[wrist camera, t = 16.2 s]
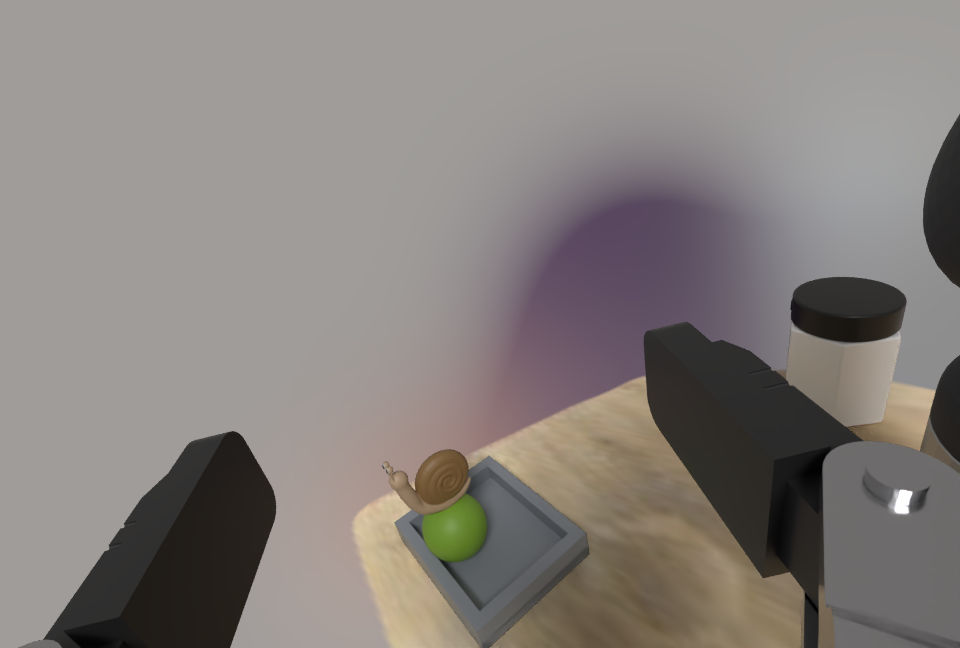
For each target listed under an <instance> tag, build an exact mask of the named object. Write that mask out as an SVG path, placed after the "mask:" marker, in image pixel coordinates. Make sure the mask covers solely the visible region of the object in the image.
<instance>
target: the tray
mask: <svg viewBox="0 0 960 648" xmlns="http://www.w3.org/2000/svg"><path fill="white" fill-rule="evenodd" d="M467 477H470V478H471V481H470V484H469V487H468V489H467V491H466V494H468V495H470V496H472V497H473V498H475V499H476V500H477V501H478V502H479V503H480V505H481V506H482V508H483V510H484V512H485V514H486V518H487V535H486V538H485V541H484V543H483V545H482V547H481V548H480V550H479V551H478V552H477V553H476V554H475V555H474V556H472V557H471V558H469V559H467V560H465V561H462V562H455V563H453V562H446V561H443V560H441V559H439V558H437V557H436V556H435V555H434V554H432V552H431V551H430V550H429V549H428V547H427V546H426V544H425V541H424V538H423V533H422V522H423V517H424V515H423V514H419V513H417V512H415V511H413V510H411V511H410V512H408V513H407V514H405V515H404V516H403V517H401V518H400V519H398V520H397V521H396V522H394V523H395V525H396V527H397V530H398V532H399V534H400V537H401V539H402V541H403V542H404V544H405V545H406V546H407V548H408V549H409V551H410V552H411V553H412V555H413V556H414V557H415V559H416V560H417V561H418V563H419V564H420V566H421V567H422V568H423V570H424V571H425V572H426V574H427V575H428V576H429V578H430V579H431V580H432V582H433V583H434V585H435V586H436V587H437V589H438V590H439V591H440V593H441V594H442V595H443V597H444V598H445V600H446V601H447V602H448V604H449V605H450V606H451V608H452V609H453V610H454V612H455V613H456V614H457V616H458V617H459V619H460V620H461V621H462V623H463V624H464V625H465V627H466V628H467V629H468V631H469V632H470V634H471V635H472V636H473V638H474V639H475V640H476V642H477V643H478V644H479V646H480V647H481V648H489V647H490V646H491V645H492V644H494V643H495V642H496V641H497V640H498V639H499V638H500V637H501V636H502V635H503V634H504V633H505V632H506V631H507V630H509V629H510V628H511V627H512V626H513V625H514V624H515V623H516V622H517V621H518V620H519V619H520V618H521V617H522V616H523V615H525V614H526V613H527V612H528V611H529V610H530V609H531V608H532V607H533V606H534V605H535V604H536V603H537V602H538V601H540V600H541V599H542V598H543V597H544V596H545V595H546V594H547V593H548V592H549V591H550V590H551V589H552V588H553V587H554V586H556V585H557V584H558V583H559V582H560V581H561V580H562V579H563V578H564V577H565V576H566V575H567V574H568V573H569V572H571V571H572V570H573V569H574V568H575V567H576V566H577V565H578V564H579V563H580V562H581V561H582V560H583V559H584V558H585V557H587V556H588V555H589V548H588V542H587V536H586V533H585V532H584V531H583V530H581V529H580V528H579V527H578V526H576V525H575V524H574V523H573V522H571V521H570V520H569V519H568V518H566V517H565V516H564V515H563V514H561V513H560V512H559V511H558V510H556V509H555V508H554V507H553V506H551V505H550V504H549V503H548V502H546V501H545V500H544V499H543V498H541V497H540V496H539V495H538V494H536V493H535V492H534V491H533V490H531V489H530V488H529V487H528V486H526V485H525V484H524V483H523V482H521V481H520V480H519V479H518V478H516V477H515V476H514V475H513V474H511V473H510V472H509V471H508V470H506V469H505V468H504V467H503V466H501V465H500V464H499V463H498V462H496V461H495V460H494V459H493V458H491V457H490V456H488V457H487V458H485V459H484V460H482V461H481V462H480V463H478V464H477V465H475V466H474V467H472V468H471V469H470V470H468V476H467Z"/></svg>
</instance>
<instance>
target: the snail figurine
mask: <svg viewBox="0 0 960 648" xmlns="http://www.w3.org/2000/svg"><path fill="white" fill-rule="evenodd" d="M382 467H383V469H386V472H387V474H388V475H389V476H390V478H389V484H390V485H391V487H392V489H394V490H395V491H396V492H397V493H398V495H399V496H400V498H401V499H402V500H403V501H404V502H405V503H406V505H407V506H408V507H409V508H411V509H412V510H413V511H415V512H417V513H419V514H423V515H424V517H423V522H422V533H423V538H424V541H425V544H426V546H427V547H428V549H429V550H430V551H431V552H432V554H434V555H435V556H436V557H437V558H439V559H441V560H443V561H446V562H453V563H455V562H462V561H465V560H467V559H469V558H471V557H472V556H474V555H475V554H476V553H477V552H478V551H479V550H480V548H481V547H482V545H483V543H484V541H485V538H486V535H487V518H486V514H485V512H484V510H483V508H482V506H481V505H480V503H479V502H478V501H477V500H476V499H475V498H473V497H472V496H470V495H468V494H466V491H467V489H468V487H469V484H470V481H471V478H470V477H467V476H468V463H467V460H466V459H465V457H464V456H463V455H462V454H461V453H460V452H458V451H455V450H450V449H449V450H442V451H439V452H436V453H434V454H433V455H431V456H430V457H429V458H427V459H426V460H425V461H424V463H423V464H422V465H421V467H420V468H419V470H418V472H417V475H416V479H415V489H416V491H415V490H414V489H413V488H412V487H411V485H410V484H409V482H408V476H407V474H406V473H405V472H403V471H396V472H394V473H392V472H393V468H392V467H390V466H389V463H388V462H383V464H382ZM391 473H392V475H391Z"/></svg>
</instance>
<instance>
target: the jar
mask: <svg viewBox="0 0 960 648" xmlns="http://www.w3.org/2000/svg"><path fill="white" fill-rule="evenodd" d="M906 302H907V301H906V297H905V296H904V294H903V293H902V292H901V291H899V290H898V289H896V288H895V287H892V286H890V285H888V284H885V283H882V282H878V281H874V280H869V279H863V278H854V277H832V278H822V279H817V280H813V281H809V282H806V283H804V284H802V285H800V286H799V287H798V288H796V289H795V291H794V293H793V298H792V301H791V320H792V323H791V331H790V341H789V351H788V361H787V371H786V380H787V381H788V383H789V385H790V386H791V385H793V386H795V387H796V388H797V389H798V390H800V391H801V392H802V393H804V394H805V395H806V396H807V397H809V398H810V399H811V400H812V401H814V402H815V403H816V404H817V405H819V406H820V407H821V408H822V409H824V410H825V411H826V412H827V413H829V414H830V415H831V416H833V417H834V418H835V419H836V420H838V421H839V422H840V423H841V424H843V425H844V426H845V427H850V426H858V425H866V424H873V423H881V422H882V421H883V418H884V414H885V409H886V405H887V400H888V396H889V391H890V387H891V382H892V378H893V373H894V368H895V364H896V360H897V355H898V350H899V346H900V342H901V334H900V328H901V326H902V321H903V316H904V312H905V307H906Z"/></svg>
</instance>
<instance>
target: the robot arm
mask: <svg viewBox="0 0 960 648" xmlns="http://www.w3.org/2000/svg"><path fill="white" fill-rule="evenodd" d="M923 226H924V233H925V237H926V242H927V245H928V248H929V251H930V252H931V255H932V256H933V258H934V260H935V262H936V264H937V266H938V267H939V268H940V269H941V270H942V272H943V273H944V274H945V275H946V276H947V277H948V278H949V279H950V281H951V282H952V283H954V284H955V285H957V286H958V287H960V115H959V116H958V118H957V120H956V121H955V123H954V125H953V127H952V128H951V130H950V131H949V133H948V135H947V137H946V139H945V141H944V142H943V145H942V147H941V149H940V151H939V154H938V156H937V158H936V160H935V163H934V165H933V168H932V171H931V174H930V177H929V180H928V184H927V188H926V193H925V198H924V208H923ZM644 354H645V368H646V384H647V398H648V403H649V407H650V411H651V414H652V416H653V419H654V421H655V423H656V425H657V427H658V428H659V430H660V431H661V433H662V434H663V436H664V437H665V438H666V440H667V441H668V443H669V444H670V446H671V447H672V448H673V450H674V451H675V453H676V454H677V456H678V457H679V458H680V460H681V461H682V463H683V464H684V466H685V467H686V468H687V470H688V471H689V473H690V474H691V476H692V477H693V479H694V480H695V481H696V483H697V484H698V486H699V487H700V489H701V490H702V491H703V493H704V494H705V496H706V497H707V499H708V500H709V501H710V503H711V504H712V506H713V507H714V509H715V510H716V511H717V513H718V514H719V516H720V517H721V519H722V520H723V521H724V523H725V524H726V526H727V527H728V529H729V530H730V532H731V533H732V534H733V536H734V537H735V539H736V540H737V542H738V543H739V544H740V546H741V547H742V549H743V550H744V552H745V553H746V554H747V556H748V557H749V559H750V560H751V562H752V563H753V564H754V566H755V567H756V569H757V570H758V572H759V573H760V574H761V576H762V577H763V578H766V577H771V576H775V575H779V574H783V573H787V572H790V573H791V574H792V575H793V577H794V578H795V579H796V581H797V582H798V583H799V584H800V586H801V587H802V588H803V594H802V601H801V647H800V648H960V355H959V356H958V357H957V358H956V359H954V360H953V361H952V362H951V363H950V364H949V365H948V367H947V368H946V369H945V371H944V373H943V374H942V376H941V378H940V381H939V384H938V386H937V389H936V393H935V396H934V400H933V404H932V407H931V412H930V416H929V419H928V423H927V426H926V430H925V433H924V437H923V441H922V444H921V448H920V451H917V450H915V449H911V448H908V447H905V446H901V445H896V444H892V443H886V442H877V441H863V440H862V439H860V438H859V437H858V436H856V435H855V434H854V433H853V432H851V431H850V430H849V429H848V428H846V427H845V426H844V425H843V424H841V423H840V422H839V421H838V420H836V419H835V418H834V417H833V416H831V415H830V414H829V413H827V412H826V411H825V410H824V409H822V408H821V407H820V406H819V405H817V404H816V403H815V402H814V401H812V400H811V399H810V398H809V397H807V396H806V395H805V394H804V393H802V392H801V391H800V390H798V389H797V388H796V387H795V386H793V385H791V386H790V385H789V383H788V381H787V380H786V379H785V378H783V377H782V376H781V375H780V374H778V373H777V372H776V371H772V370H771V367H769V366H768V365H767V364H766V363H764V362H763V361H762V360H761V359H759V358H758V357H757V356H756V355H754V354H753V353H752V352H750V351H749V350H746V349H743V348H741V347H738V346H736V345H733V344H730V343H728V342H726V341H723V340H720V341H716V342H711V341H710V340H708V339H707V338H706V337H705V336H704V335H702V333H700V332H699V331H698V330H697V329H696V328H695V327H693V326H692V325H691V324H690V323H688V322H683V323H678V324H674V325H670V326H666V327H662V328H658V329H654V330H650V331H647V332H646V333H645V336H644ZM275 515H276V500H275V495H274V491H273V489H272V487H271V485H270V483H269V481H268V479H267V478H266V476H265V474H264V473H263V471H262V469H261V467H260V466H259V464H258V462H257V460H256V459H255V457H254V455H253V454H252V452H251V450H250V448H249V447H248V445H247V443H246V441H245V440H244V438H243V437H242V436H241V435H240V434H239V433H237V432H234V431H232V432H227V433H223V434H219V435H215V436H211V437H206V438H203V439H199V440H194V441H192V442H190V443H189V444H188V445H187V446H186V448H185V449H184V451H183V452H182V454H181V455H180V457H179V458H178V460H177V461H176V463H175V464H174V466H173V467H172V469H171V470H170V472H169V473H168V474H167V475H166V476H165V477H164V478H163V479H162V480H161V481H159V482H158V484H156V485H155V486H154V487H153V488H152V489H151V490H150V491H149V492H148V493H147V494H146V495H144V497H142V498H141V500H140V501H139V503H138V504H137V506H136V507H135V508H134V510H133V511H132V513H131V514H130V516H129V517H128V519H127V520H126V522H125V523H124V525H125V527H124V528H122V529H120V530H119V532H118V533H117V534H116V536H115V537H114V539H113V540H112V542H111V543H110V544H109V550H108V551H105V552H104V553H103V555H102V556H101V557H100V559H99V560H98V562H97V563H96V565H95V566H94V567H93V569H92V570H91V572H90V573H89V575H88V576H87V578H86V579H85V580H84V582H83V583H82V585H81V586H80V588H79V589H78V591H77V592H76V593H75V595H74V596H73V598H72V599H71V601H70V602H69V603H68V605H67V606H66V608H65V609H64V611H63V612H62V614H61V615H60V616H59V618H58V619H57V621H56V622H55V623H54V625H53V626H52V628H51V629H50V631H49V632H48V634H47V635H46V637H45V638H44V639H43V640H39V641H35V642H32V643H29V644H26V645H24V646H21V647H19V648H230V646H231V644H232V641H233V638H234V635H235V632H236V629H237V626H238V623H239V621H240V618H241V615H242V612H243V609H244V606H245V603H246V600H247V598H248V595H249V592H250V589H251V586H252V583H253V580H254V578H255V575H256V572H257V569H258V566H259V563H260V560H261V558H262V555H263V552H264V549H265V546H266V543H267V540H268V538H269V534H270V532H271V529H272V526H273V523H274V520H275Z"/></svg>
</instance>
